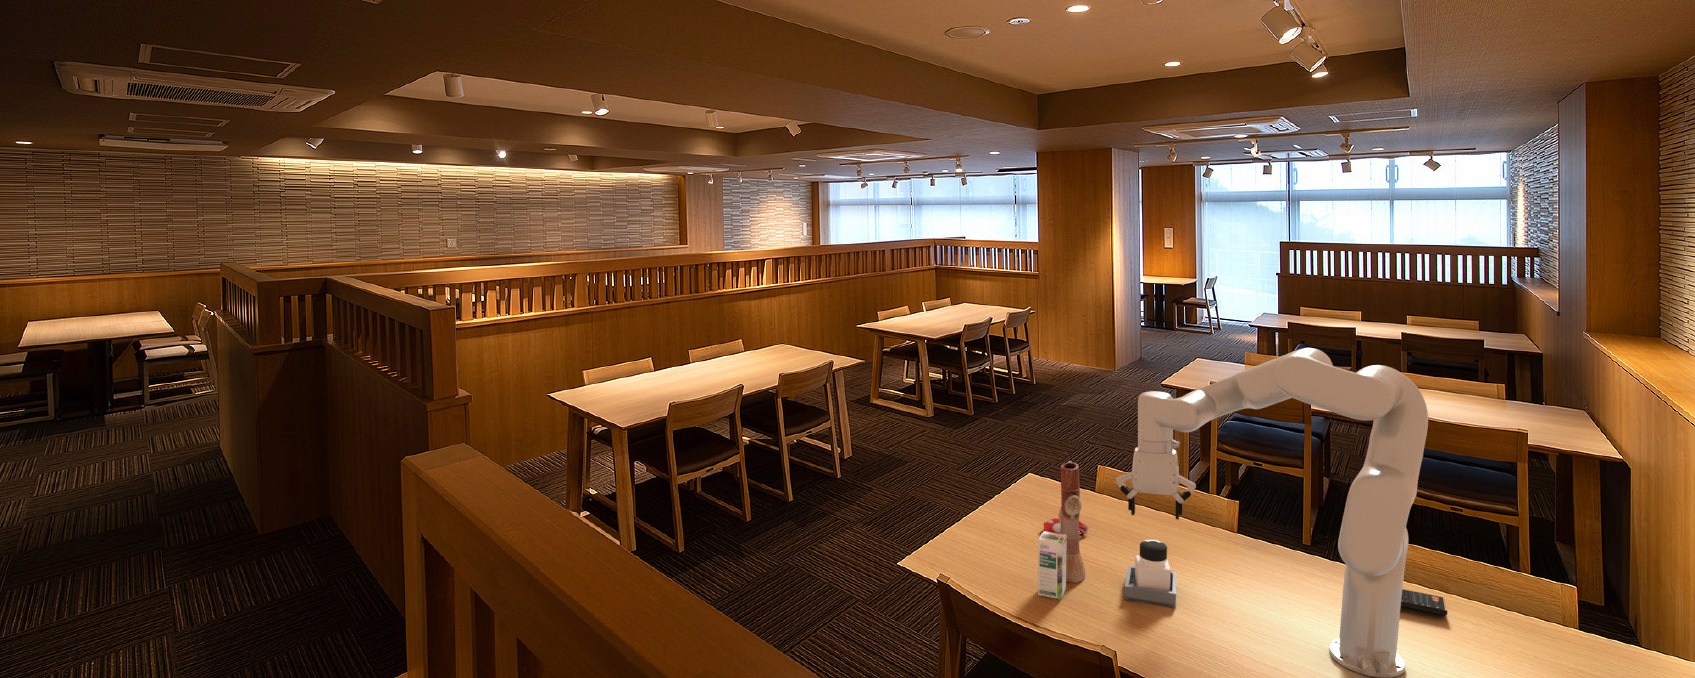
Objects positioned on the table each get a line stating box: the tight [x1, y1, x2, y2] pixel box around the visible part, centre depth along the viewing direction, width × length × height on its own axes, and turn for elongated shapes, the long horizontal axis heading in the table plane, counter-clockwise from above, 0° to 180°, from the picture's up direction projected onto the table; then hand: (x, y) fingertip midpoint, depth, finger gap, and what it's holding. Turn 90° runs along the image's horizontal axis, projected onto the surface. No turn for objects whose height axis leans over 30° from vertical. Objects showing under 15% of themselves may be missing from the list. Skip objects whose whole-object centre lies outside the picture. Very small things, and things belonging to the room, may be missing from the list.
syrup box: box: [1037, 530, 1067, 601], centre depth 184 cm, size 6×6×14 cm
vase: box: [1058, 460, 1086, 583], centre depth 190 cm, size 11×7×30 cm
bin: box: [1124, 565, 1177, 609], centre depth 183 cm, size 11×11×4 cm
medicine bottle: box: [1134, 539, 1172, 592], centre depth 182 cm, size 7×7×12 cm
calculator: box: [1401, 588, 1448, 616], centre depth 173 cm, size 9×12×3 cm
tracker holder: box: [1042, 518, 1090, 535], centre depth 218 cm, size 12×4×10 cm
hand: (1155, 515), depth 180 cm, fingers open, 9 cm apart
